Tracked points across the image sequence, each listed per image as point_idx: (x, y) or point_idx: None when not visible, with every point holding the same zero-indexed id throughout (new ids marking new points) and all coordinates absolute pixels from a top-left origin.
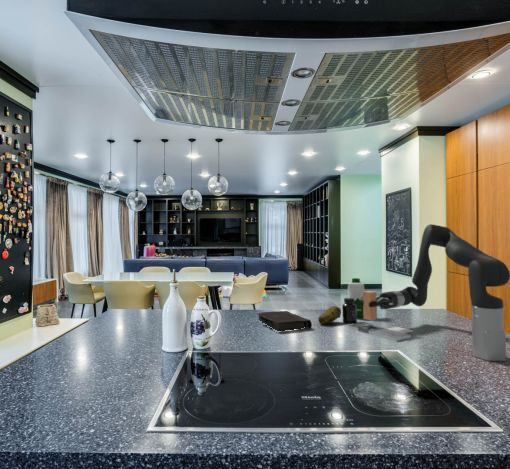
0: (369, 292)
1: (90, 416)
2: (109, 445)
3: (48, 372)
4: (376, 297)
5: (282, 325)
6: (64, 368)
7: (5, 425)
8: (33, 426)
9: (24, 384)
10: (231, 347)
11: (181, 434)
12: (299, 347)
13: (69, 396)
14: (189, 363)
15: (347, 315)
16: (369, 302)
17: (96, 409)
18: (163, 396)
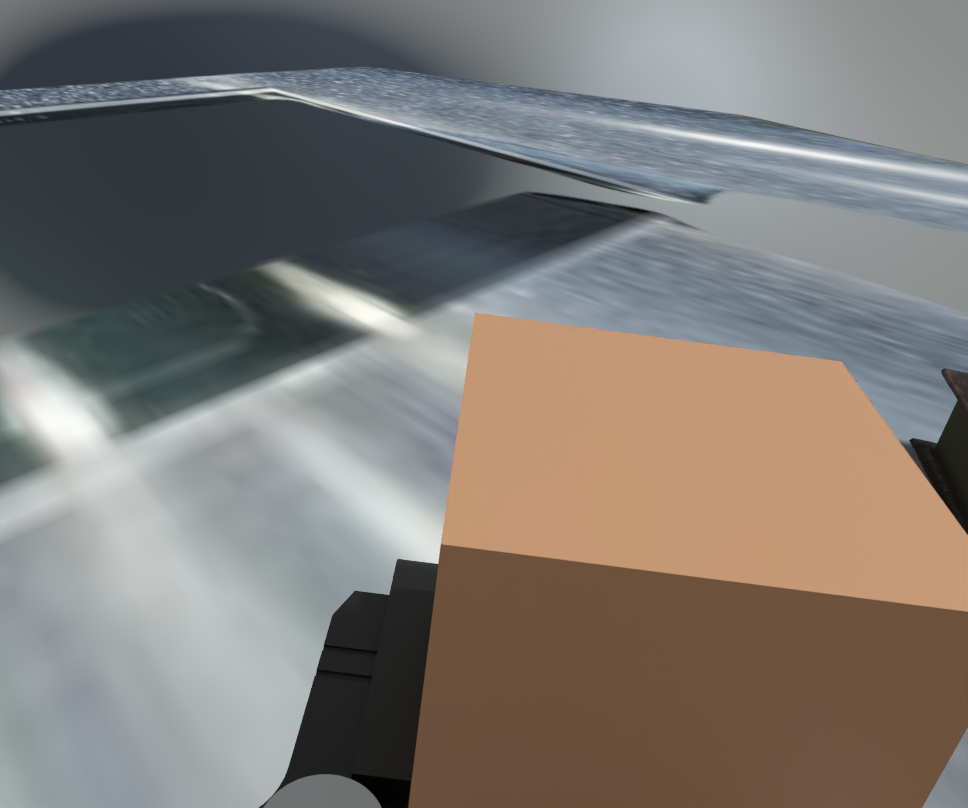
0: (535, 335)
1: (390, 90)
2: (272, 76)
3: (667, 118)
4: (412, 780)
5: (966, 430)
6: (681, 126)
7: (443, 76)
8: (413, 78)
9: (613, 103)
10: (678, 252)
11: (210, 89)
12: None
13: (503, 101)
14: (565, 175)
15: None
16: (424, 562)
17: (412, 95)
18: (382, 118)
